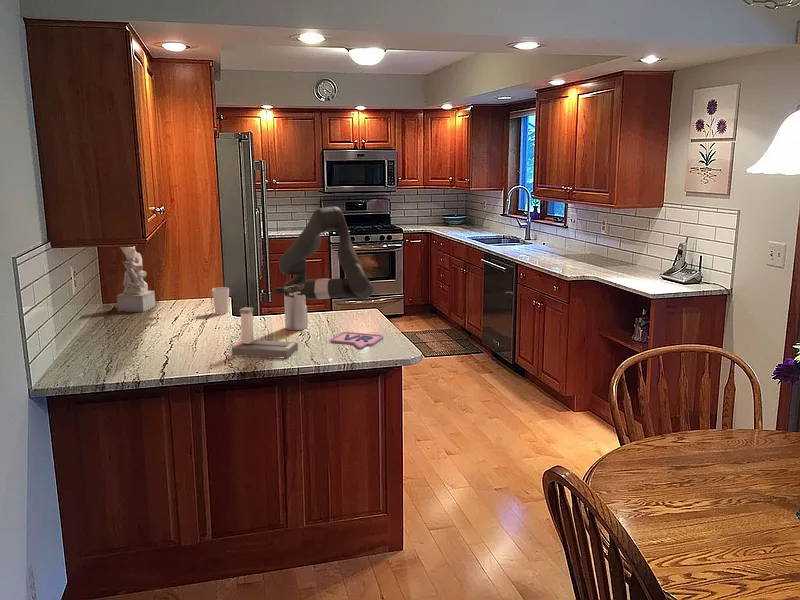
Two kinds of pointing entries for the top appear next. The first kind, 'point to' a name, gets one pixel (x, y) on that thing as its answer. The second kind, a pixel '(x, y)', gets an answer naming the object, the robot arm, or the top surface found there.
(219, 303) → the cup
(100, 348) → the top surface
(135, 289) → the sculpture
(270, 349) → the switch base
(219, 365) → the top surface
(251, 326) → the handle
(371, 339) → the icon
